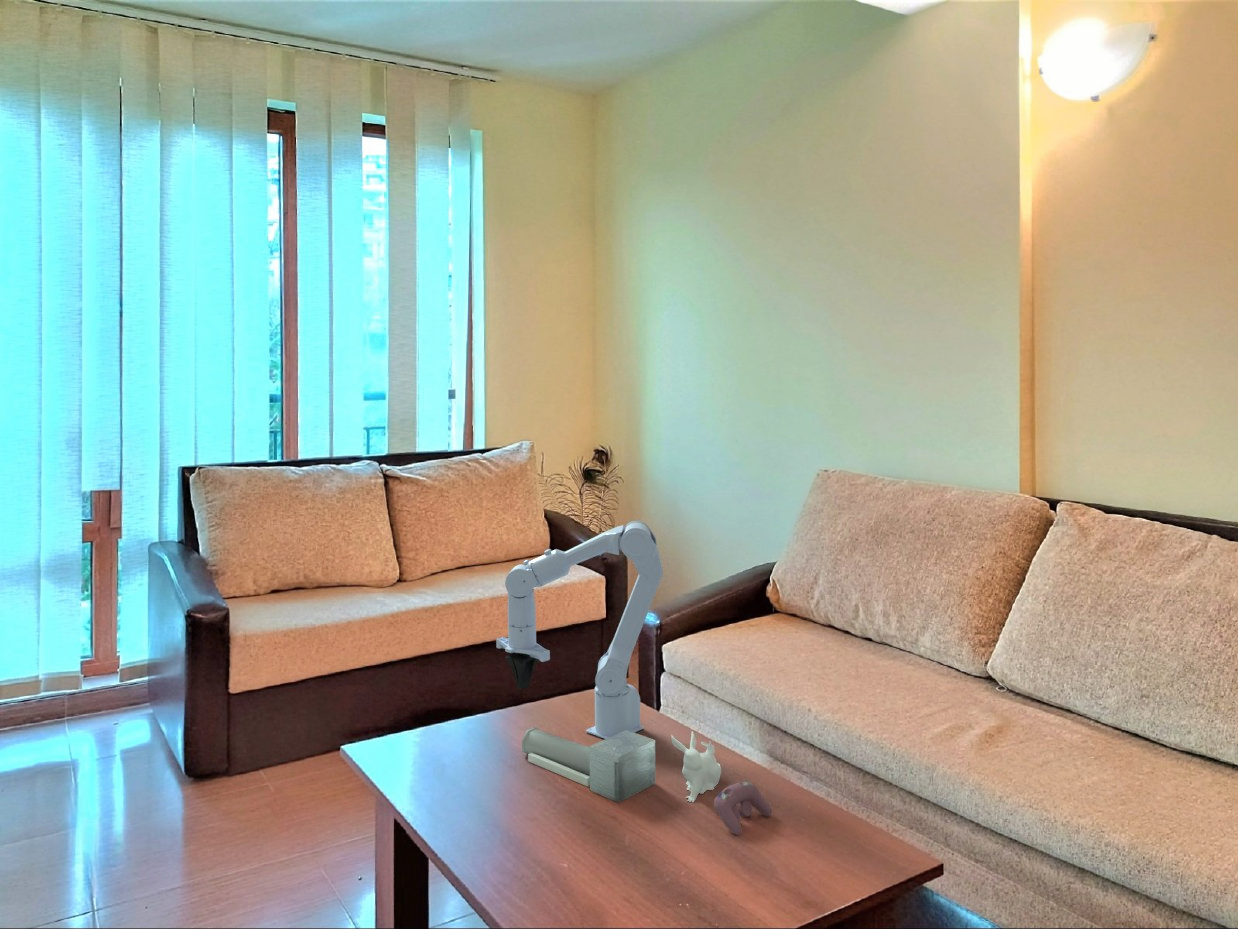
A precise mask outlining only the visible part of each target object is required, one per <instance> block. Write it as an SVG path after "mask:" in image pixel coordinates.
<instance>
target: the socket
mask: <svg viewBox="0 0 1238 929" xmlns="http://www.w3.org/2000/svg"><path fill="white" fill-rule="evenodd" d="M588 747H589V758H590V775H589V777H590V785H589V791H590V792H593V793H595V794H597V795H600V796H601V797H604V798H607V799H608V800H612V801H614V802H616V803H618V804H619V803H621V802H623V801H625V800H627V799H628V798H630V797H633V796H634V795H637V794H638V793H640V792H642V791H644V790H645V789H648V788H650V787H652V786H654V785H655V784H656V740H655V739H653V738H650V737H648V736H645V735H642V734H639V733H637V732H635V733H634V732H631V731H628V730H625V731H623V732H621V733H618V734H616V735H614V736H612V737H609V738H607V739H603V740H600V741H598V742H596V743H594V744H591V745H589V746H588Z"/></svg>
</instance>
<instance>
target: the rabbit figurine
mask: <svg viewBox="0 0 1238 929" xmlns="http://www.w3.org/2000/svg"><path fill="white" fill-rule="evenodd" d="M690 734H691V737H690V741H689V742H690V744H689V748H687V747H686V746H685V745H684V743H682V742H680V741H679V740H678V739H676V738H675V736H674V735H671V738H670V739H671V743H672V745H673V746H674V747H675V748H676V749H677V750H679V751H681V752H682V753H684V754H683V759H682V760H683V761H682V762H683V767H682V770H681V772H682V776H683V778H684V779H685V780H686V783H685V785H686V784H687V785H688V786H687V785H686V786H687V787H686V790H689V791H688V792H690V795H687V796H686V797H685V796H684V798H685V799H686V798H688V799H687V800H686V802H687V801H689V803H695V801H696V799H697V797H698V795H699V793H700V795H702V794H703V795H704V794H705V793H706V792H707V791H706V790H712V791H714V790H715V788H716V787H717V786H718V785H717V784H719V781H720V779H721V774H722V768H721V764H720V763H719V762H717V759H716V757H715V755H714V754H715V753H716V748H715V745H714V744H712V741H711V740H709V741H708V743H707V742H705V741H701V742H700V745H701V746H704V747H706V751H704V752H699V751H698V750H697V749H696V745H697V739H696V736H695V732H694V731H693V730H692V731H691V732H690ZM716 785H717V786H716ZM715 786H716V787H715ZM714 787H715V788H714ZM705 791H706V792H705ZM704 792H705V793H704Z"/></svg>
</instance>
